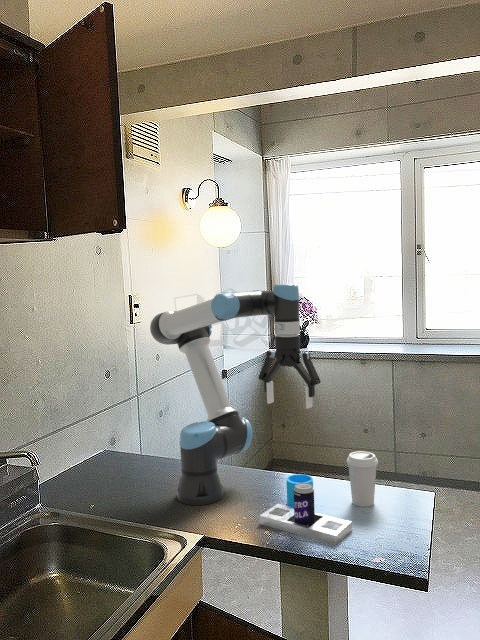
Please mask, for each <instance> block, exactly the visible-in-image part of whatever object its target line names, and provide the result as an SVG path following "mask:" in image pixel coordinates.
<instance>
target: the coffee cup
mask: <svg viewBox="0 0 480 640" xmlns="http://www.w3.org/2000/svg"><path fill="white" fill-rule="evenodd" d="M345 462H346V463H347V465H348V473H349V474H348V475H349V482H350V483H349V484H350V491H351V493H350V494H351V501H352V505H354V506H357V507H362V508H368V507H369V508H370V507H372V506H373V505H374V503H375V494H376V493H375V492H376V491H375V490H376V476H377V466H378V464H379V460H378V457H377V456H376V455H375V453H373V452H369V451H365V450H364V451H363V450H362V451H353V452H352V451H351V452H350V453H349V454H348V457H347V459H346V461H345Z"/></svg>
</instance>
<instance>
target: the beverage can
mask: <svg viewBox="0 0 480 640" xmlns="http://www.w3.org/2000/svg"><path fill="white" fill-rule="evenodd" d="M315 513H316V512H315V490H314V486H313V487H312V485H311V484H309V483H298V484H296V485H295V488H294V521H295V523H298V524H302V525H305V526H309V527H311V526H312V525H313V524H315Z"/></svg>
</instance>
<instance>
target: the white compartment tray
mask: <svg viewBox="0 0 480 640" xmlns="http://www.w3.org/2000/svg"><path fill="white" fill-rule="evenodd" d="M259 524H260V525H263V526H265V527H269V528H274V529H276V530H280V531H284V532H287V533H291V534H295V535H298V536H303V537H306V538H310V539H312V540H316V541H320V542H324V543H326V544H330V545H331V544H332V545H335V546H337V545H338V544H339V543H340V542H341V541H342V540H344V538H345V537H346V536H348V535H349V533H351V532H352V531H353V521H351V520H348V519H343V518H339V517H336V516H331V515H327V514H322V513H319V512H315V524H313V525H312V526H311V527H309V526H305V525H302V524H298V523H295V521H294V507H291V506H288V505H287V504H282V503H276V504H275V505H274V506H272V507H270V508H268V509H267V510H266V511H264V512H263V513H261V514H260V515H259Z"/></svg>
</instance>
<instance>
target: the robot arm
mask: <svg viewBox="0 0 480 640" xmlns="http://www.w3.org/2000/svg"><path fill="white" fill-rule="evenodd" d="M254 316H274V334H275V335H276V336H275V337H274V344H275V345H274V347H275V350H274V349H270V350H267V351H266V358H265V360H264V363H263V365H262V368H261V371H260V372H259V375H258V380H261V381H263V382H264V392H265V393H266V403H267V405H270V404H272V403H275V398H274V396H275V394H274V381H272V379H273V378H274V377H275V375H276V374H277V373H278V371H279V370H280V369H281V367H289V368H292V367H293V368H294V369H295V370H296V372H298V374H299V375H300V377H301V378H302V379H303V381H304V382H305V383H306V386H305V409H311V408H313V405H314V404H313V402H314V401H313V398H314V397H315V396H316V392H315V391H316V390H315V386H316V385H319V384H320V383H321V379H320V377H319V375H318V372H317V370H316V367H315V365H314V363H313V361H312V359H311V352H310V351H307V352H301V336H300V334H301V327H300V326H301V321H300V292H299V286H298V285H297V284H296V283H279V284H278V283H277V284H274V285H273V290H258V289H257V290H251V291H241V292H240V291H239V292H229V291H227V292H222V293H217V294H216V295H214V296H213V298H211V299H208V300H205V301H203V302H200V303H196V304H194V305H190V306H188V307H185V308H183V309H182V308H181V309H180V310H175V311H171V310H169V311H164V312H160V313H158V314H156V315H155V316H154V317H153V318H152V320H151V322H150V327H149V328H150V329H149V330H150V334H151V336H152V338H153V339H154V340H155V341H156V342H157V343H160V344H162V345H167V346H168V345H177V347H178V349H179V351H180V352H181V353H183V354H185V356H186V359H187V362H188V364H189V367H190V369H191V373H192V375H193V378H194V381H195V383H196V386H197V389H198V392H199V395H200V397H201V399H202V402H203V407H204V408H205V410H206V413H207V416H208V417H207V420H206V421H205V420H204V421H200V422H199V421H198V422H197V421H196V422H193V423H190V424H187V425H186V426H184V427H183V428H182V429H181V431H180V433H179V437H180V438H179V448H180V449H179V450H180V464H181V465H180V466H181V468H180V469H181V475H180V479H179V483H178V487H177V490H176V497H177V500H178V501H179V502H180V503H181V504H185V505H189V506H190V505H191V506H205V505H210V504H213V503H216V502H219V501H220V500H222V499H223V497H224V494H225V493H224V486H223V485H222V482H221V479H220V475H219V474H218V461H219V460H222V459H225V458H228V457H230V456H233V455H238V454H240V453H242V452H244V451H246V450H247V449H249V447H250V446H251V443H252V440H253V429H252V428H253V427H252V425H251V423H250V421H249V420H248V419H246V417H243V416H240V413H239V411H238V409H235V408H233V407H232V405H231V403H230V400H229V397H228V394H227V391H226V389H225V387H224V384H223V382H222V378H221V376H220V373H219V371H218V369H217V366H216V363H215V360H214V358H213V355H212V352H211V350H210V347H209V344H210V342H211V338H210V337H211V335H212V331H213V330H212V329H213V325H215V324H218V323H222V322H224V321H225V322H226V321H228V320H232V319H238V318H245V317H254ZM275 357H276V361H275V362H274V363H273V361H274V359H275ZM301 360H302V361H303V362H302V361H301ZM272 363H273V366H272ZM271 366H272V367H271Z"/></svg>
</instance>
